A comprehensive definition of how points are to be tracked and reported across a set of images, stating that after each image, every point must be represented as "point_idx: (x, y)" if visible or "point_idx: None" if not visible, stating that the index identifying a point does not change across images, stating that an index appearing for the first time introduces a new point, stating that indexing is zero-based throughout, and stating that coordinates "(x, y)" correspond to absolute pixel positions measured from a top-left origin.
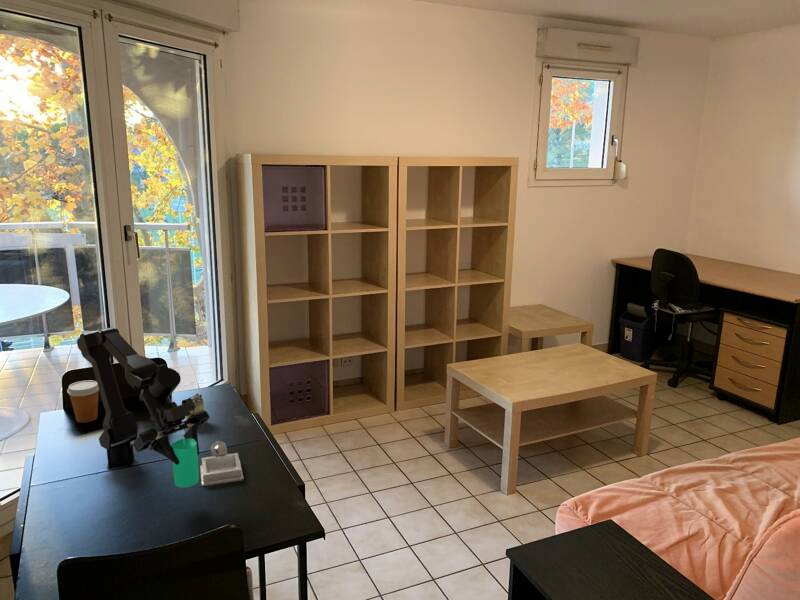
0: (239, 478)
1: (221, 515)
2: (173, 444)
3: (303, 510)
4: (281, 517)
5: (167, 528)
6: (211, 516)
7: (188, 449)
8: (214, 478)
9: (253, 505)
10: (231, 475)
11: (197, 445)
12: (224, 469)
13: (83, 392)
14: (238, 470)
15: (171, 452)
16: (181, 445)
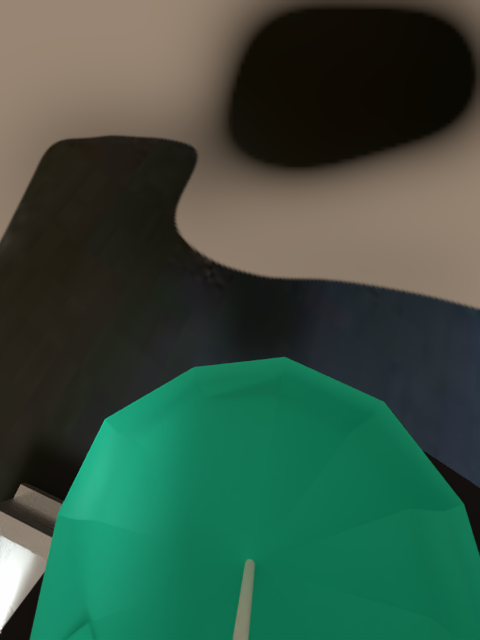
0: (31, 495)
1: (201, 310)
2: None
3: (21, 208)
4: (80, 210)
5: (371, 341)
6: (228, 322)
7: (248, 363)
8: None
9: (100, 303)
10: (42, 517)
11: None
12: None
13: None
14: (1, 509)
15: (470, 493)
16: (292, 588)
